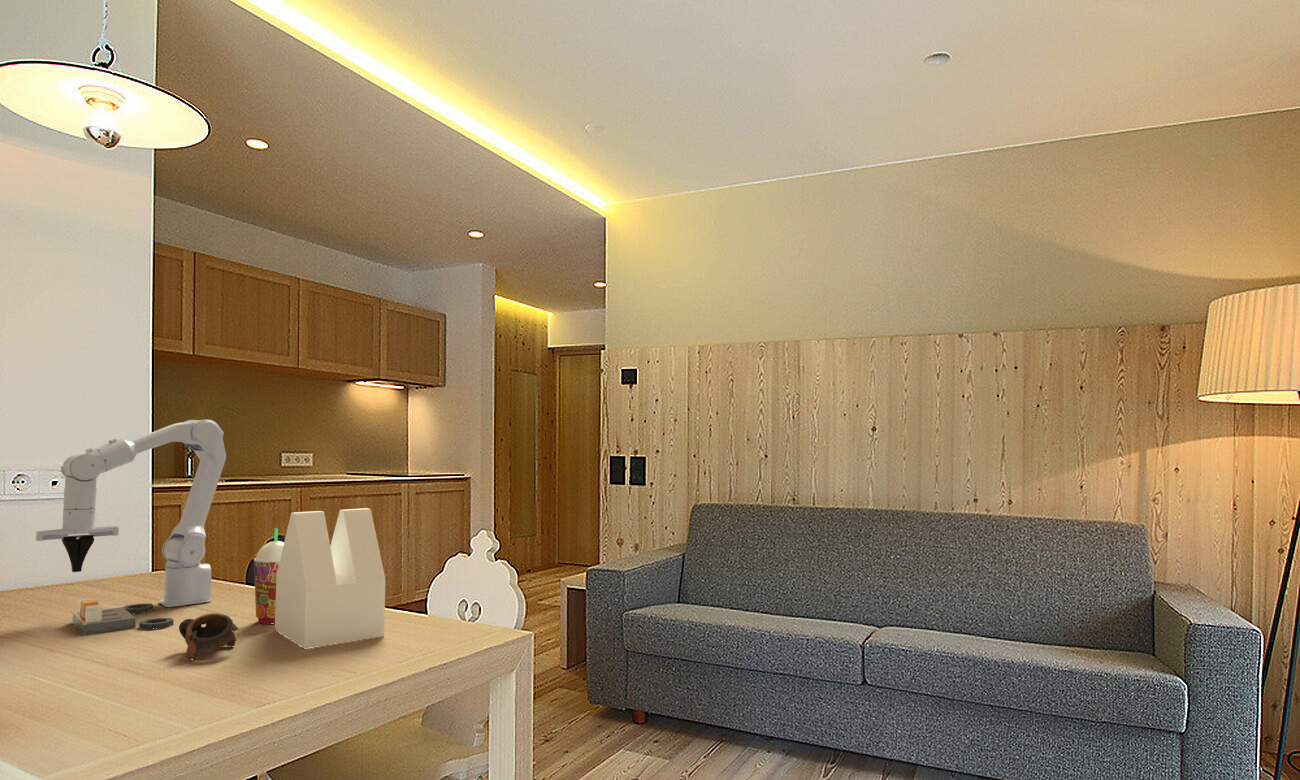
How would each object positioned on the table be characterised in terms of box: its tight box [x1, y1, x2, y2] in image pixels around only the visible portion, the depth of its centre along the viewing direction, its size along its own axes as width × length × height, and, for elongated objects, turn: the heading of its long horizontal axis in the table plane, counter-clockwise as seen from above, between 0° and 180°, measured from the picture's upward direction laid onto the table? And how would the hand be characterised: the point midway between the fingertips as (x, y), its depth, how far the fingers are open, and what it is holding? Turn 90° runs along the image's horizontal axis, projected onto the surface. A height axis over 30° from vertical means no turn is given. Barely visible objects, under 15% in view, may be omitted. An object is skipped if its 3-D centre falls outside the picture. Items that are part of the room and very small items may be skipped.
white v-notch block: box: [274, 507, 386, 648], centre depth 160 cm, size 19×15×25 cm
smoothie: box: [253, 528, 284, 625], centre depth 170 cm, size 8×8×20 cm
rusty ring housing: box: [178, 612, 239, 660], centre depth 144 cm, size 12×10×8 cm
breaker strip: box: [72, 597, 137, 636], centre depth 165 cm, size 9×14×5 cm, turn 43°
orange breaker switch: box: [81, 599, 99, 618], centre depth 163 cm, size 2×3×3 cm
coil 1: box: [122, 603, 154, 615], centre depth 178 cm, size 6×6×1 cm
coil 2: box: [138, 617, 174, 630], centre depth 164 cm, size 6×6×1 cm
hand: (76, 571), depth 170 cm, fingers closed
